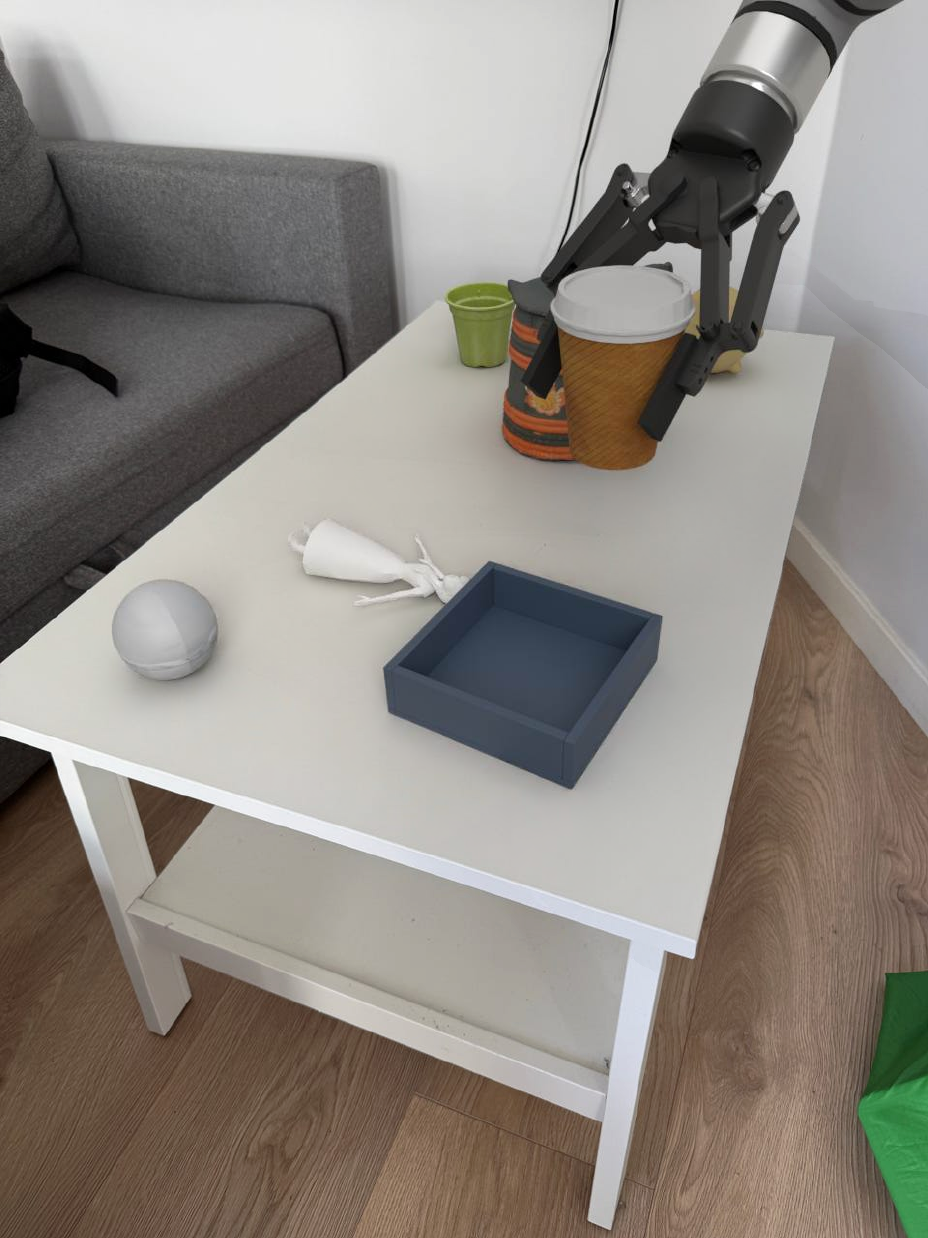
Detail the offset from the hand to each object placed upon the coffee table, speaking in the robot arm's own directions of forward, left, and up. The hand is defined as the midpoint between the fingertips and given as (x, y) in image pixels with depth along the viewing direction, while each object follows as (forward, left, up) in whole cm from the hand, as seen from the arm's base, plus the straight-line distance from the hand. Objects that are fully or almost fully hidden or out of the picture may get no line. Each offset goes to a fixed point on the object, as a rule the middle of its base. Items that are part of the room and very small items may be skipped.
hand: (588, 410), depth 63 cm
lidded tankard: (+15, -33, -21) cm, 42 cm away
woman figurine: (+19, +1, -21) cm, 28 cm away
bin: (+1, +7, -21) cm, 22 cm away
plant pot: (+36, -46, -21) cm, 62 cm away
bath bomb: (+27, +19, -21) cm, 39 cm away
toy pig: (+9, -56, -21) cm, 61 cm away
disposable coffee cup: (-1, -3, -5) cm, 5 cm away
